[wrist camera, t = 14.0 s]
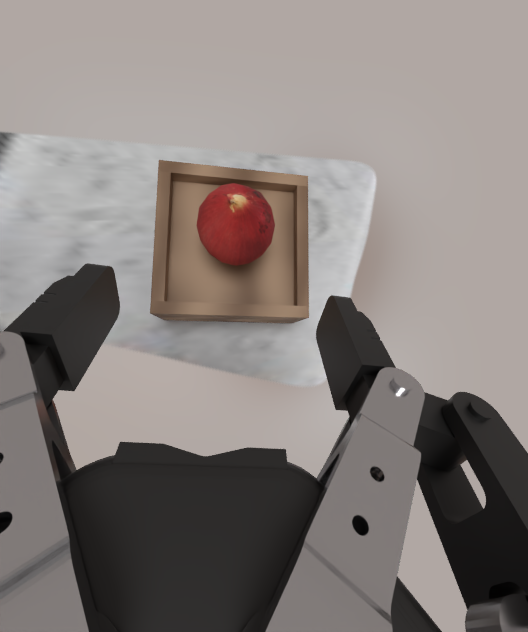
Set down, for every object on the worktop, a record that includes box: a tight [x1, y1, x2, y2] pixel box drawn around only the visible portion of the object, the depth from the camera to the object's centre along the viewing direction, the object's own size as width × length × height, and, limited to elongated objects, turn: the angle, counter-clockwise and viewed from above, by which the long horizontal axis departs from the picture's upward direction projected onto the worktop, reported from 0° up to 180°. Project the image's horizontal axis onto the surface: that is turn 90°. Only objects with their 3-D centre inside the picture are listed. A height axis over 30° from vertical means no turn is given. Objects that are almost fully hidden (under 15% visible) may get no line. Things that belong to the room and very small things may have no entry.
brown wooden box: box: [150, 160, 309, 323], centre depth 27 cm, size 13×13×6 cm
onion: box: [196, 183, 275, 266], centre depth 21 cm, size 6×6×8 cm
